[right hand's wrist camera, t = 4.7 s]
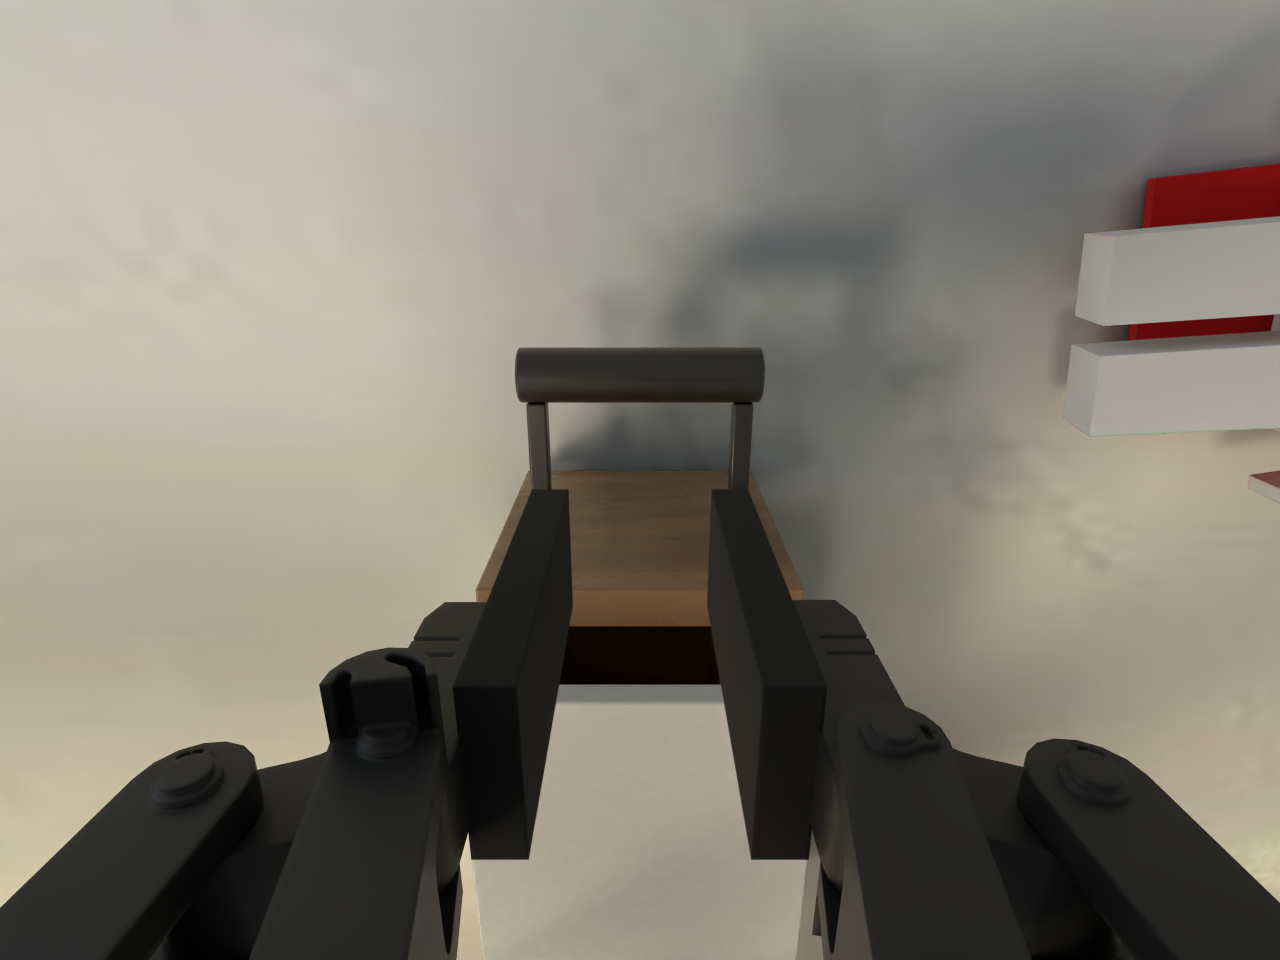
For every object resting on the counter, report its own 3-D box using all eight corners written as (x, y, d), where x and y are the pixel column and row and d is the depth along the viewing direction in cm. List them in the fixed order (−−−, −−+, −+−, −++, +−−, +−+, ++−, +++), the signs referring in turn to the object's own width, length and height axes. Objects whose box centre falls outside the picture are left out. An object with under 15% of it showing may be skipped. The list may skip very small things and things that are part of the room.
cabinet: (521, 528, 30) (454, 702, 19) (758, 528, 30) (825, 703, 19) (542, 873, 37) (502, 1147, 26) (736, 873, 37) (777, 1147, 26)
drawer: (519, 322, 26) (455, 377, 17) (759, 322, 26) (824, 377, 17) (548, 826, 35) (515, 1044, 26) (730, 826, 35) (763, 1044, 26)
